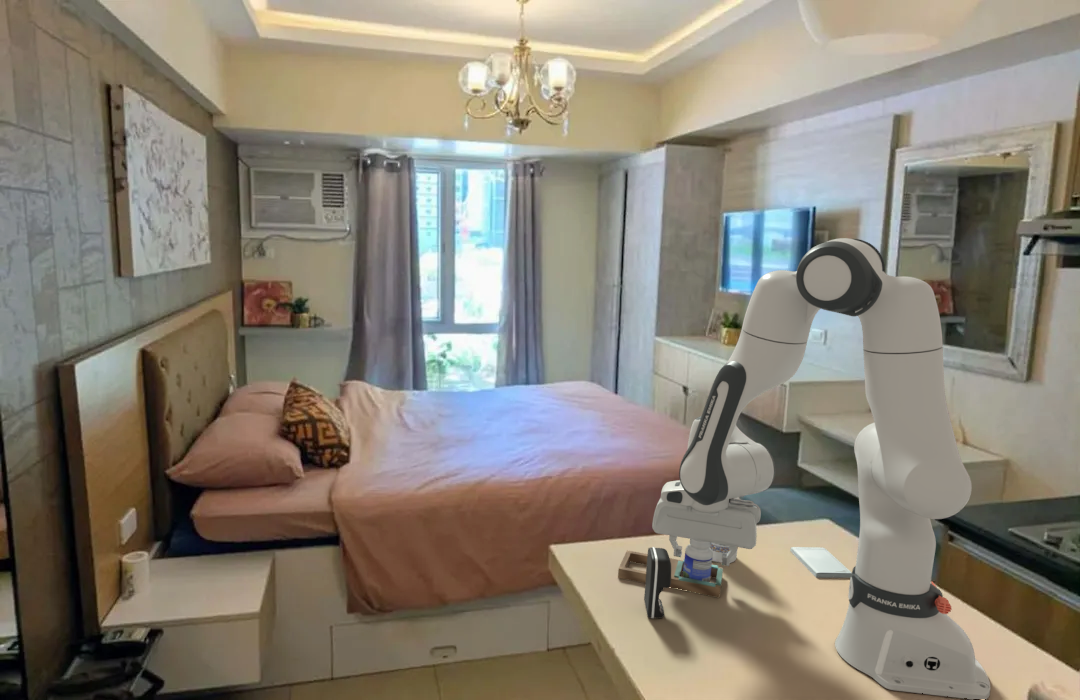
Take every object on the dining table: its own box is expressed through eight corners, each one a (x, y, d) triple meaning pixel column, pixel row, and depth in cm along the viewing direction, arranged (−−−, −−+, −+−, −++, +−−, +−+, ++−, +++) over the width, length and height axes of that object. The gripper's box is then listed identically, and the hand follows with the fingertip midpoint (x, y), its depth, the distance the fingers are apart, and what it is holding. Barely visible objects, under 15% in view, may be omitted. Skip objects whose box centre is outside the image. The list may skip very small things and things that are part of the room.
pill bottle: (680, 576, 140) (684, 531, 138) (706, 577, 140) (710, 532, 138) (684, 589, 134) (688, 542, 133) (712, 591, 134) (716, 544, 133)
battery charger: (668, 621, 122) (673, 561, 121) (647, 619, 123) (652, 560, 121) (663, 601, 129) (668, 544, 128) (643, 599, 130) (648, 543, 128)
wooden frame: (722, 577, 140) (723, 566, 140) (719, 597, 132) (720, 586, 131) (626, 559, 146) (627, 549, 146) (617, 577, 138) (618, 567, 137)
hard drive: (854, 573, 143) (825, 546, 155) (816, 572, 142) (790, 546, 154) (853, 580, 143) (824, 553, 155) (815, 580, 142) (789, 553, 154)
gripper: (762, 497, 134) (755, 562, 136) (658, 481, 141) (653, 544, 143) (761, 508, 128) (754, 576, 130) (653, 491, 135) (648, 557, 137)
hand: (701, 560), depth 137 cm, fingers open, 8 cm apart
